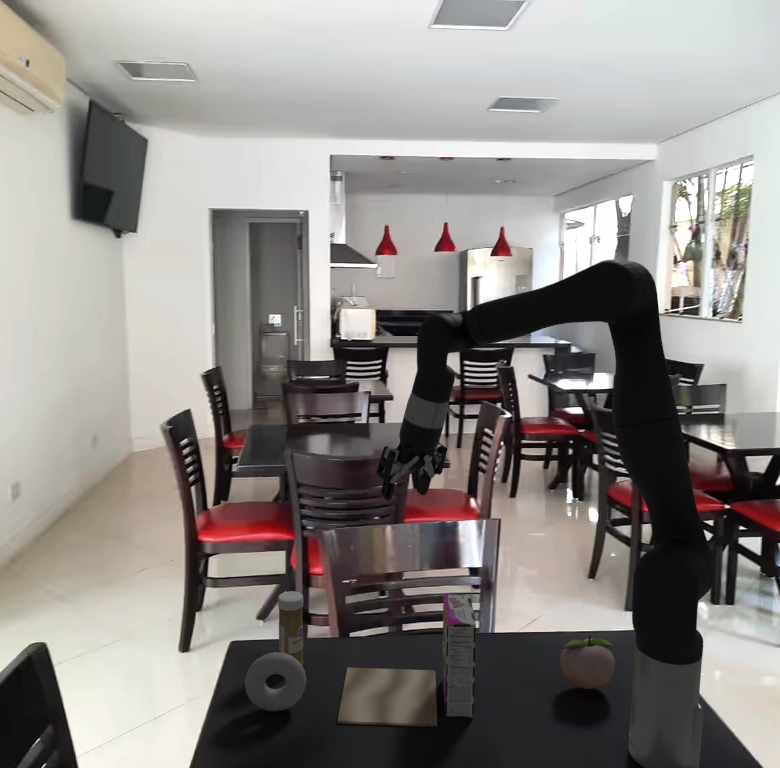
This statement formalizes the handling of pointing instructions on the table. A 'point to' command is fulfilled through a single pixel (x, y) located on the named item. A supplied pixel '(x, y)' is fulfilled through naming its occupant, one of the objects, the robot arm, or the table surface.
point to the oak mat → (389, 697)
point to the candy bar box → (458, 655)
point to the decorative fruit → (588, 662)
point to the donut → (275, 697)
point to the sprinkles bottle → (291, 624)
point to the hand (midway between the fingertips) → (403, 495)
